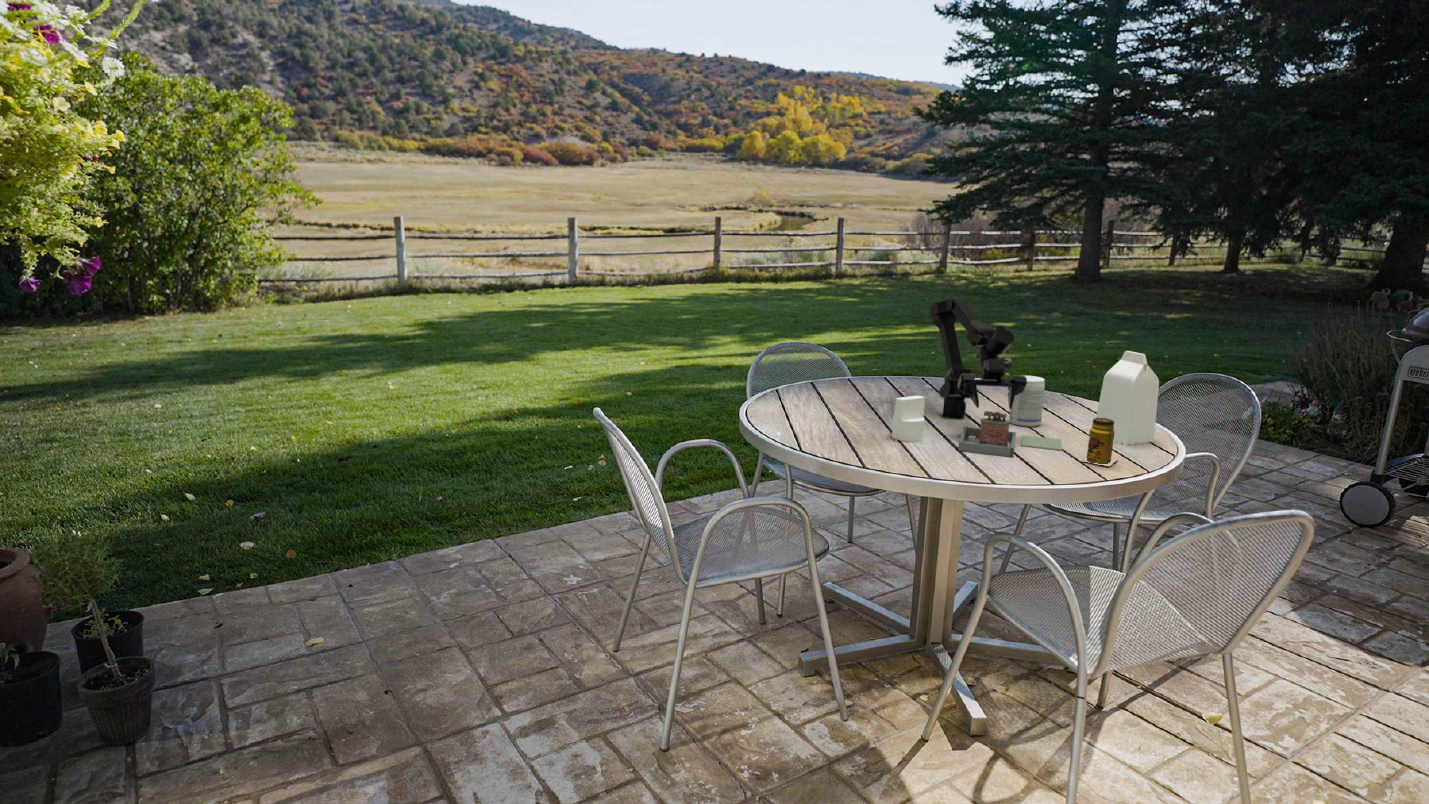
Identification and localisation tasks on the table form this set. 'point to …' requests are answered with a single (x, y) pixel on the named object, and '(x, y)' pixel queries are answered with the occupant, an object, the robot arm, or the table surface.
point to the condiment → (1101, 441)
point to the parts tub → (984, 447)
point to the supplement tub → (1029, 403)
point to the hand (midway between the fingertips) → (994, 407)
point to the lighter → (994, 429)
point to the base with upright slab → (909, 418)
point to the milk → (1130, 399)
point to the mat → (1041, 442)
